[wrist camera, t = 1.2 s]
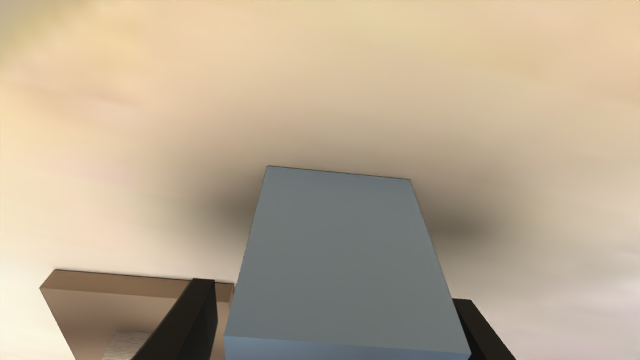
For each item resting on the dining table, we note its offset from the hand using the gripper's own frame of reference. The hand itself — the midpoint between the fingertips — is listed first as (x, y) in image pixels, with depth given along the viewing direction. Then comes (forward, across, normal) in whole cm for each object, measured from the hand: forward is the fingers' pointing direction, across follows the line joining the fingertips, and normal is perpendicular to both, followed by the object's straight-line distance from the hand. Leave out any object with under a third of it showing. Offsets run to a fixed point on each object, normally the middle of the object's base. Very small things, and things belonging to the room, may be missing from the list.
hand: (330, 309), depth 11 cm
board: (+4, +8, +8) cm, 12 cm away
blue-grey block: (+4, 0, 0) cm, 4 cm away
